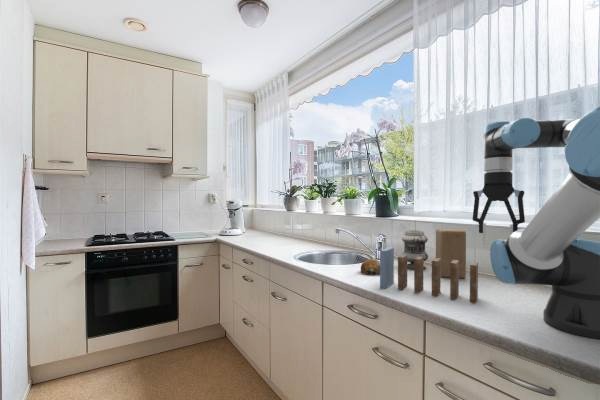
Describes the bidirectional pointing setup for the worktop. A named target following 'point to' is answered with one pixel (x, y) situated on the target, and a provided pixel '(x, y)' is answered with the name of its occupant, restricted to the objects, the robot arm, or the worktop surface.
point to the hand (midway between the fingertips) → (497, 244)
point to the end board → (386, 267)
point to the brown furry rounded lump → (371, 267)
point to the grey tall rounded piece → (414, 246)
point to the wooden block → (451, 250)
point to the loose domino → (473, 282)
